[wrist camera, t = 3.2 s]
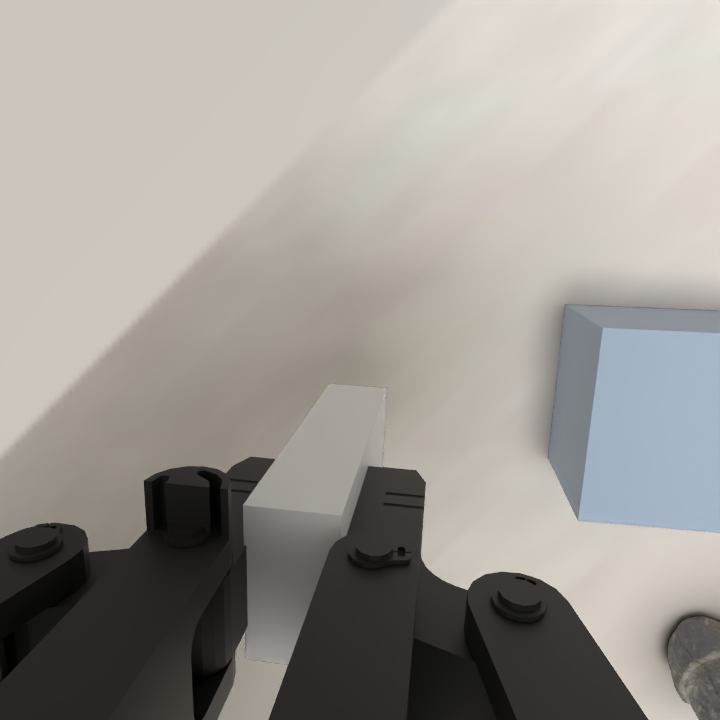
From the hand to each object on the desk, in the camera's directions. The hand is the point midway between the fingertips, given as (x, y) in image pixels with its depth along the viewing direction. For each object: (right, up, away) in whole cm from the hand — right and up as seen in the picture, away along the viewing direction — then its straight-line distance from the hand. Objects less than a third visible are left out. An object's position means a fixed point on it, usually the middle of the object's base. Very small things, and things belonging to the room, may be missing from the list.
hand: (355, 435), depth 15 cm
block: (+10, +1, +6) cm, 12 cm away
